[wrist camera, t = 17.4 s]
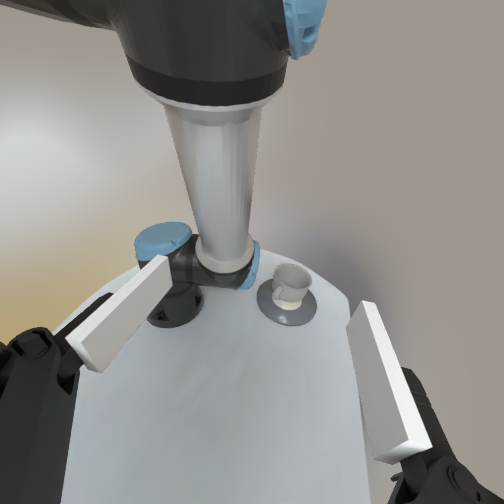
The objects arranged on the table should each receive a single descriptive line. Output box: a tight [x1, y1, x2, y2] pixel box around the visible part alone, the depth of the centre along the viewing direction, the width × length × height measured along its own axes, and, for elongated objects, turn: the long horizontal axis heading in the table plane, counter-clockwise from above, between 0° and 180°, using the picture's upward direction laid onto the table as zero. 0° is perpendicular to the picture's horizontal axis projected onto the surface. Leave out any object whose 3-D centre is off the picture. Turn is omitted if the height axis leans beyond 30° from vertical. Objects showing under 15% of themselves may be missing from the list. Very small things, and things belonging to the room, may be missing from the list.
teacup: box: [272, 264, 312, 303], centre depth 58 cm, size 14×11×8 cm
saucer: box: [257, 279, 317, 326], centre depth 60 cm, size 18×18×1 cm
